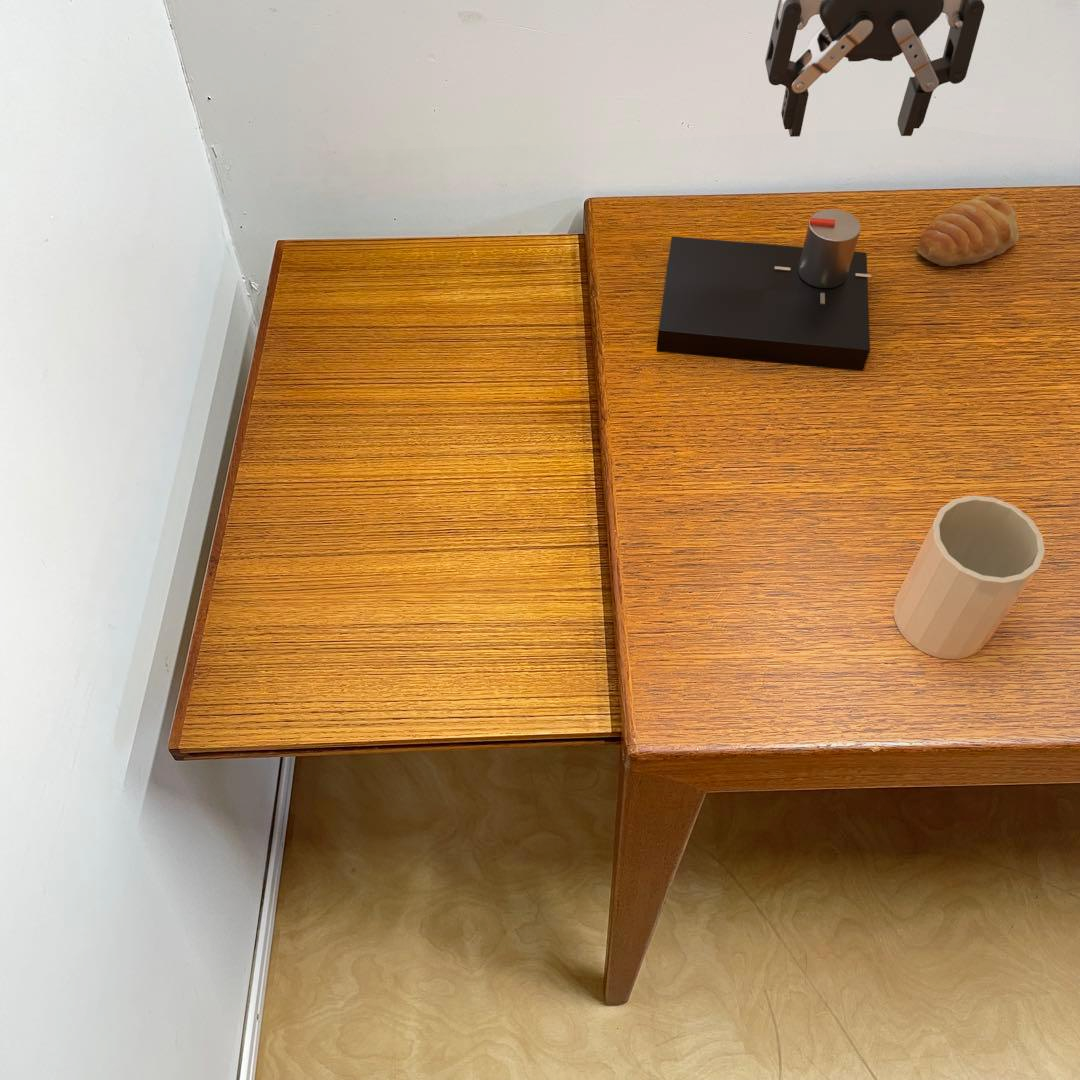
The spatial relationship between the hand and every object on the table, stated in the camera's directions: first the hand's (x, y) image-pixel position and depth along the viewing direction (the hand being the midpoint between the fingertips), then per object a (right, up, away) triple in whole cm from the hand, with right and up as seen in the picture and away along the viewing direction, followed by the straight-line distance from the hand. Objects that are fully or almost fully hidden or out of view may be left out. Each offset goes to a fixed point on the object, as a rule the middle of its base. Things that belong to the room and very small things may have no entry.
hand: (848, 130), depth 77 cm
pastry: (+17, -4, +19) cm, 25 cm away
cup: (+5, -37, -5) cm, 38 cm away
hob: (-4, -11, +14) cm, 18 cm away
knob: (+2, -8, +13) cm, 15 cm away
